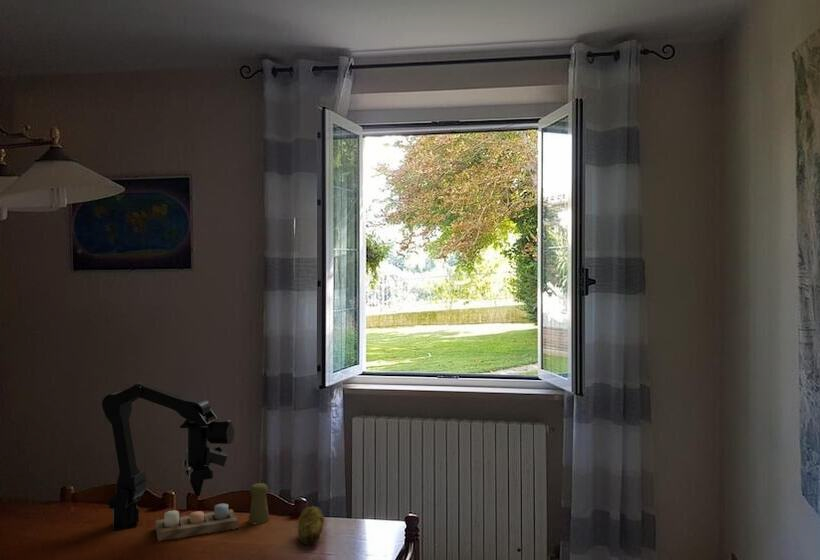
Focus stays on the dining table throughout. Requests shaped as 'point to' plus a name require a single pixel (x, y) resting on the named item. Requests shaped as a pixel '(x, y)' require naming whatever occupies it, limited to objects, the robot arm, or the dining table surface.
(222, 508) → the pale blue cylinder
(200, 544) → the dining table surface
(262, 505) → the green shaker
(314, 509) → the potato
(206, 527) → the button board
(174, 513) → the cream button
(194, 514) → the peach short cylinder
